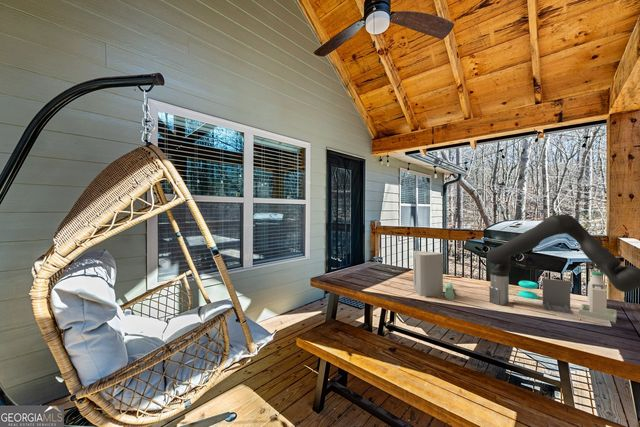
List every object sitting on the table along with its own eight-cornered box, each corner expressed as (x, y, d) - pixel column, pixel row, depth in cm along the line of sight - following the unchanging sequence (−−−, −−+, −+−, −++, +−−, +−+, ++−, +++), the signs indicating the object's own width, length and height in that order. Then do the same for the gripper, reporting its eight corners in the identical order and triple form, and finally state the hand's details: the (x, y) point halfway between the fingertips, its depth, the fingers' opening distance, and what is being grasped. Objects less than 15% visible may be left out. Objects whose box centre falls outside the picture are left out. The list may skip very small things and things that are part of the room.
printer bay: (574, 316, 141) (574, 286, 141) (545, 311, 148) (544, 283, 148) (569, 309, 151) (569, 281, 151) (542, 304, 158) (542, 278, 158)
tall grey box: (408, 294, 183) (407, 253, 182) (415, 288, 194) (414, 250, 194) (437, 299, 171) (437, 256, 170) (443, 293, 183) (442, 253, 182)
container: (446, 279, 195) (446, 289, 172) (454, 283, 192) (456, 293, 170) (442, 286, 196) (443, 297, 173) (451, 290, 193) (452, 301, 171)
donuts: (515, 279, 177) (532, 280, 175) (515, 294, 177) (532, 295, 175) (523, 284, 167) (541, 284, 165) (523, 299, 167) (541, 300, 165)
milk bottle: (609, 309, 149) (609, 274, 149) (590, 307, 153) (590, 272, 153) (603, 305, 156) (603, 271, 155) (585, 302, 160) (585, 270, 160)
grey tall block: (606, 317, 137) (606, 286, 136) (592, 315, 140) (592, 285, 139) (602, 313, 141) (602, 284, 141) (589, 311, 144) (589, 282, 144)
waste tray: (615, 324, 131) (615, 317, 131) (578, 316, 141) (578, 309, 141) (616, 316, 140) (616, 310, 140) (582, 309, 150) (582, 303, 150)
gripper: (639, 264, 113) (625, 258, 127) (592, 261, 122) (584, 255, 135) (639, 281, 114) (625, 273, 127) (592, 277, 122) (584, 270, 135)
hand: (604, 264), depth 131 cm, fingers open, 8 cm apart
